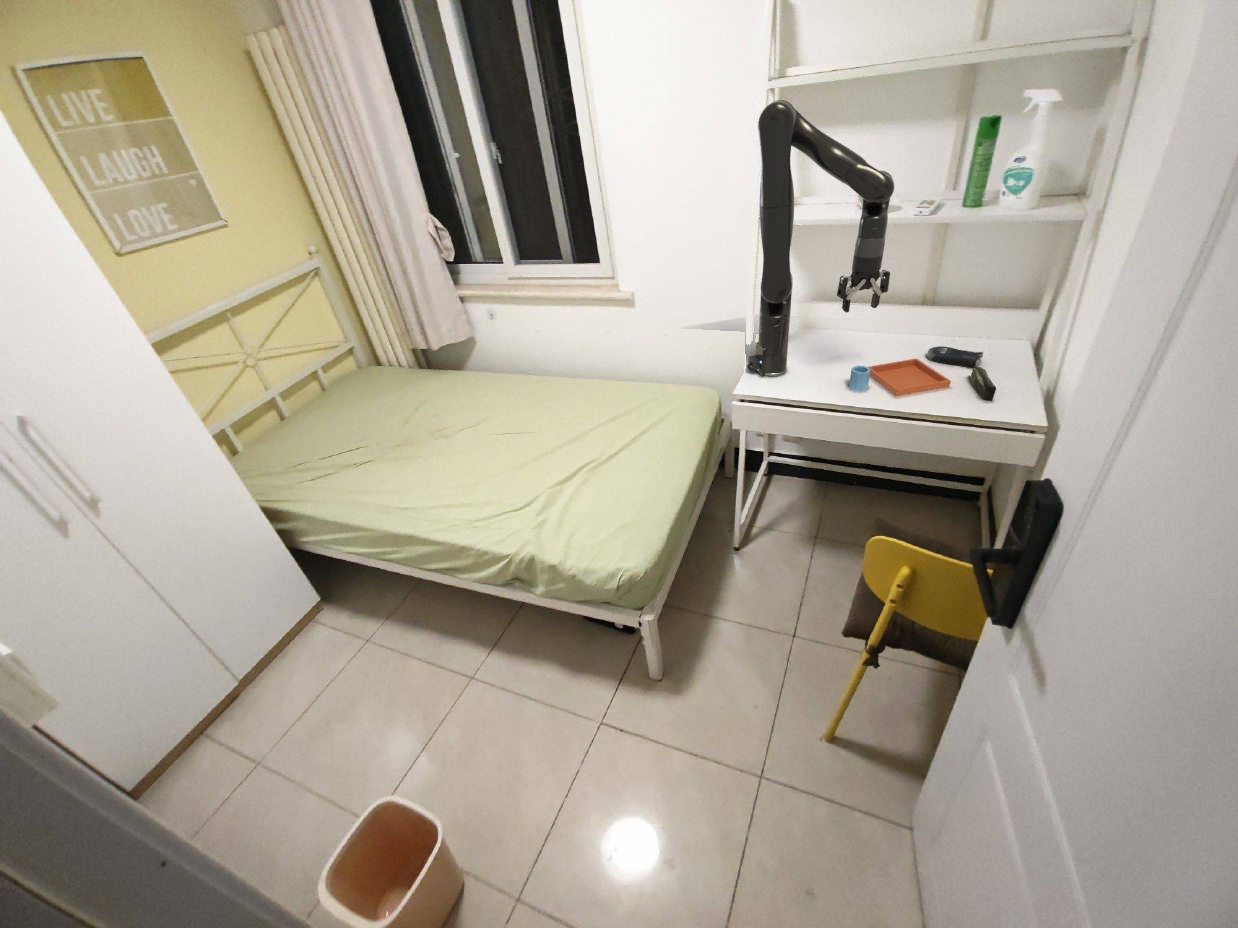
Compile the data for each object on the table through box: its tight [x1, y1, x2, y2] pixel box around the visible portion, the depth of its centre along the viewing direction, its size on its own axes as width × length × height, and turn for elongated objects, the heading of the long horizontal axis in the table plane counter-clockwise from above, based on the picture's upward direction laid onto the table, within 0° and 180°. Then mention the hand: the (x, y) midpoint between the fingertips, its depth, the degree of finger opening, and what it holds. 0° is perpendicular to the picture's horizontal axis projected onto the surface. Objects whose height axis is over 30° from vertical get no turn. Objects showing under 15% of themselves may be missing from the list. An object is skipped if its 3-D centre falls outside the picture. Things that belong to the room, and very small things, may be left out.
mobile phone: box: [967, 366, 997, 402], centre depth 159 cm, size 5×3×15 cm
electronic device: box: [926, 345, 984, 368], centre depth 176 cm, size 9×6×15 cm
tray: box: [867, 358, 952, 397], centre depth 169 cm, size 17×17×2 cm
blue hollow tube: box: [848, 365, 870, 392], centre depth 167 cm, size 5×5×6 cm
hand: (859, 309), depth 164 cm, fingers open, 8 cm apart
